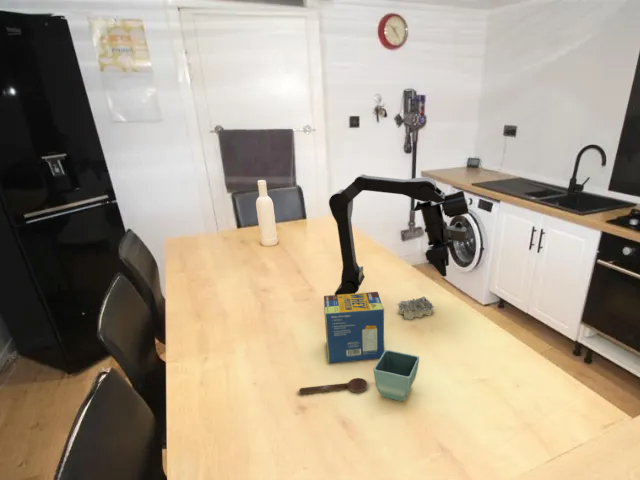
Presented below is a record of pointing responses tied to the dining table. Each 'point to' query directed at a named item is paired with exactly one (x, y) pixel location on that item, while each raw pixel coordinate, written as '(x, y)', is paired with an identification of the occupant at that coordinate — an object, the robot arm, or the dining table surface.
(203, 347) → the dining table surface
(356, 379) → the wooden spoon
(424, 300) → the egg carton
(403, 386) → the flower pot
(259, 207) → the bottle
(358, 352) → the protein box
